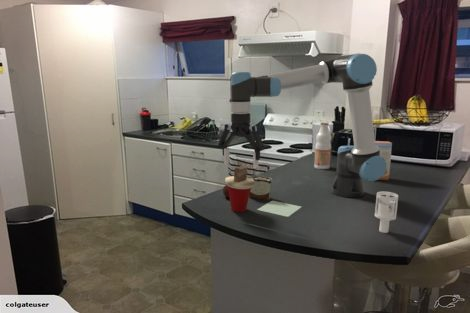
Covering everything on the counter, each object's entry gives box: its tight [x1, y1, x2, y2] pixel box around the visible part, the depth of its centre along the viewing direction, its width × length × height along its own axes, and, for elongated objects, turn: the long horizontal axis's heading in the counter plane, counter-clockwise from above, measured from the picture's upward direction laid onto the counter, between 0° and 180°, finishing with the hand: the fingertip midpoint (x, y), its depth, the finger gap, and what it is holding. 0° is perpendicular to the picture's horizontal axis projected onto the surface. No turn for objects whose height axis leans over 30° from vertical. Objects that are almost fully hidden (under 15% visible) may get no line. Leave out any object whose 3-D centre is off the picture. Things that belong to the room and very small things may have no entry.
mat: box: [256, 200, 302, 218], centre depth 152 cm, size 14×14×1 cm
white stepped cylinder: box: [374, 191, 399, 234], centre depth 129 cm, size 7×7×15 cm
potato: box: [222, 184, 230, 199], centre depth 166 cm, size 7×10×6 cm
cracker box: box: [375, 140, 393, 181], centre depth 200 cm, size 14×6×21 cm, turn 84°
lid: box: [224, 165, 255, 188], centre depth 146 cm, size 12×12×7 cm
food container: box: [247, 174, 274, 201], centre depth 166 cm, size 12×6×10 cm, turn 71°
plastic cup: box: [226, 184, 252, 213], centre depth 148 cm, size 11×11×12 cm
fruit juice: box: [313, 122, 332, 170], centre depth 223 cm, size 9×9×28 cm
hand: (240, 165), depth 146 cm, fingers open, 13 cm apart
